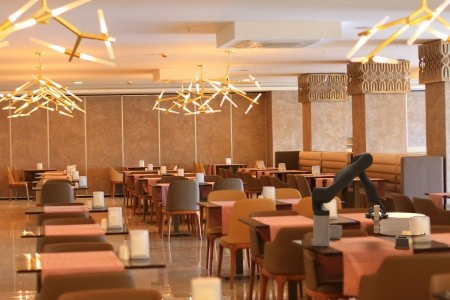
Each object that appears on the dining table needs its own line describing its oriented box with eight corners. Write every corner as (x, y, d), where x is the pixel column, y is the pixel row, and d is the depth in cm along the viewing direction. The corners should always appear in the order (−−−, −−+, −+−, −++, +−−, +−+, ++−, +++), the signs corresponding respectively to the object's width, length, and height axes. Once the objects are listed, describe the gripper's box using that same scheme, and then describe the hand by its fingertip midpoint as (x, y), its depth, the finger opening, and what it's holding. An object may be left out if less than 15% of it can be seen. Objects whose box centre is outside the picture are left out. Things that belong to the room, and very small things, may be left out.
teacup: (337, 240, 536) (337, 227, 536) (320, 239, 542) (320, 225, 542) (347, 237, 548) (347, 224, 548) (330, 236, 554) (330, 223, 554)
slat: (379, 232, 508) (379, 206, 507) (373, 232, 508) (374, 206, 508) (379, 231, 513) (379, 205, 512) (373, 231, 513) (374, 205, 513)
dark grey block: (409, 248, 503) (409, 238, 503) (395, 248, 504) (395, 238, 504) (409, 246, 513) (409, 236, 513) (394, 245, 514) (394, 236, 514)
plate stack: (422, 230, 583) (422, 212, 583) (427, 236, 555) (427, 217, 555) (378, 230, 586) (378, 212, 586) (381, 235, 558) (381, 217, 558)
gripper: (364, 207, 525) (364, 210, 508) (389, 208, 523) (389, 211, 506) (364, 220, 526) (363, 224, 509) (389, 221, 523) (389, 224, 506)
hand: (376, 217), depth 507 cm, fingers closed on slat, 3 cm apart
